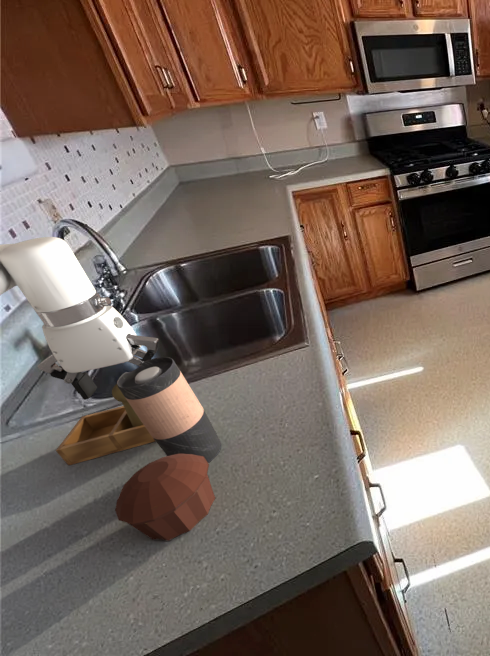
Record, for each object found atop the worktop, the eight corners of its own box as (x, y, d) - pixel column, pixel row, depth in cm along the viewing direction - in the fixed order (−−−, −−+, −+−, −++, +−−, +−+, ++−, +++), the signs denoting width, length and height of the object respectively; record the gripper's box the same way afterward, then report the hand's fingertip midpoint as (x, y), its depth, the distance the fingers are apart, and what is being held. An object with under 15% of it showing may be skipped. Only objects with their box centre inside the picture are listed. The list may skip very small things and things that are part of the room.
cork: (129, 439, 80) (97, 396, 74) (144, 416, 85) (116, 375, 80) (164, 430, 81) (136, 388, 76) (177, 408, 86) (151, 367, 81)
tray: (68, 465, 76) (55, 450, 74) (93, 430, 83) (81, 416, 81) (171, 436, 80) (161, 422, 78) (186, 406, 88) (177, 391, 86)
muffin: (120, 558, 60) (82, 517, 56) (161, 489, 70) (131, 449, 65) (208, 538, 62) (177, 496, 57) (236, 473, 72) (212, 433, 67)
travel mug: (218, 463, 74) (165, 378, 65) (168, 480, 72) (106, 394, 62) (227, 432, 80) (180, 350, 71) (181, 446, 78) (126, 364, 69)
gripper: (143, 289, 75) (182, 363, 83) (23, 310, 70) (77, 386, 78) (123, 309, 69) (168, 387, 77) (-10, 334, 64) (53, 414, 72)
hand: (122, 387), depth 77 cm, fingers open, 9 cm apart
